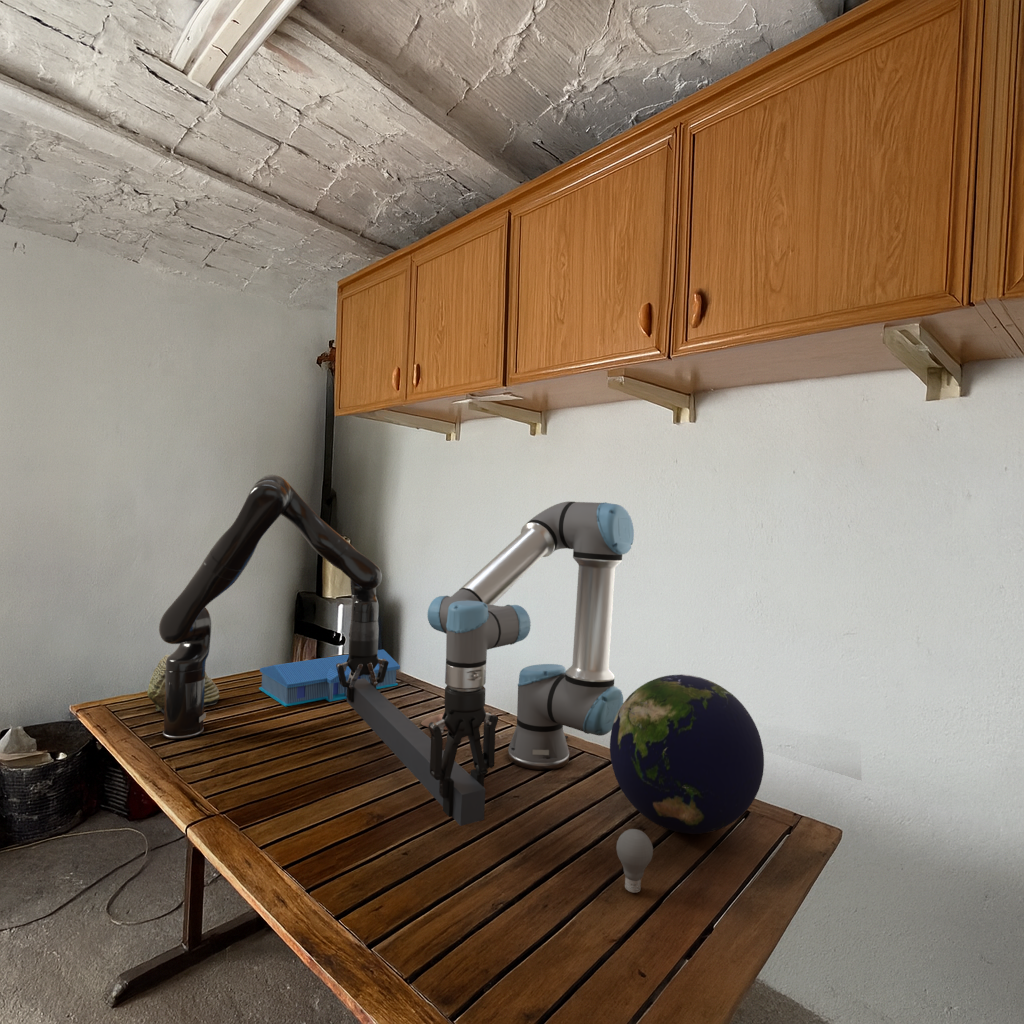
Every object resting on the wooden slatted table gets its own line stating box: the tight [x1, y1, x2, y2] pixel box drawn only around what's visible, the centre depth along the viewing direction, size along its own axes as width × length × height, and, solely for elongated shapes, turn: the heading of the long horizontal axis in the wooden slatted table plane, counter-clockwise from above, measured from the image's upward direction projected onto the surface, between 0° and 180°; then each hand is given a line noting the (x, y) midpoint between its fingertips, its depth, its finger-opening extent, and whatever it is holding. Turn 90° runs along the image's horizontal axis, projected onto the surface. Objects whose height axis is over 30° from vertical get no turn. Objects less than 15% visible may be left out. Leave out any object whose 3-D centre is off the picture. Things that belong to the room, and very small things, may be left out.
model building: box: [258, 649, 401, 707], centre depth 208 cm, size 39×24×10 cm, turn 132°
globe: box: [609, 673, 765, 835], centre depth 128 cm, size 30×30×30 cm
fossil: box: [147, 654, 221, 712], centre depth 185 cm, size 9×18×15 cm, turn 132°
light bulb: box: [615, 828, 654, 894], centre depth 106 cm, size 6×6×10 cm
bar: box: [346, 678, 486, 827], centre depth 143 cm, size 69×5×6 cm, turn 31°
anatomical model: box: [420, 712, 448, 731], centre depth 180 cm, size 13×4×12 cm
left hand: (361, 699), depth 168 cm, fingers closed on bar, 5 cm apart
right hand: (461, 809), depth 118 cm, fingers closed on bar, 5 cm apart
